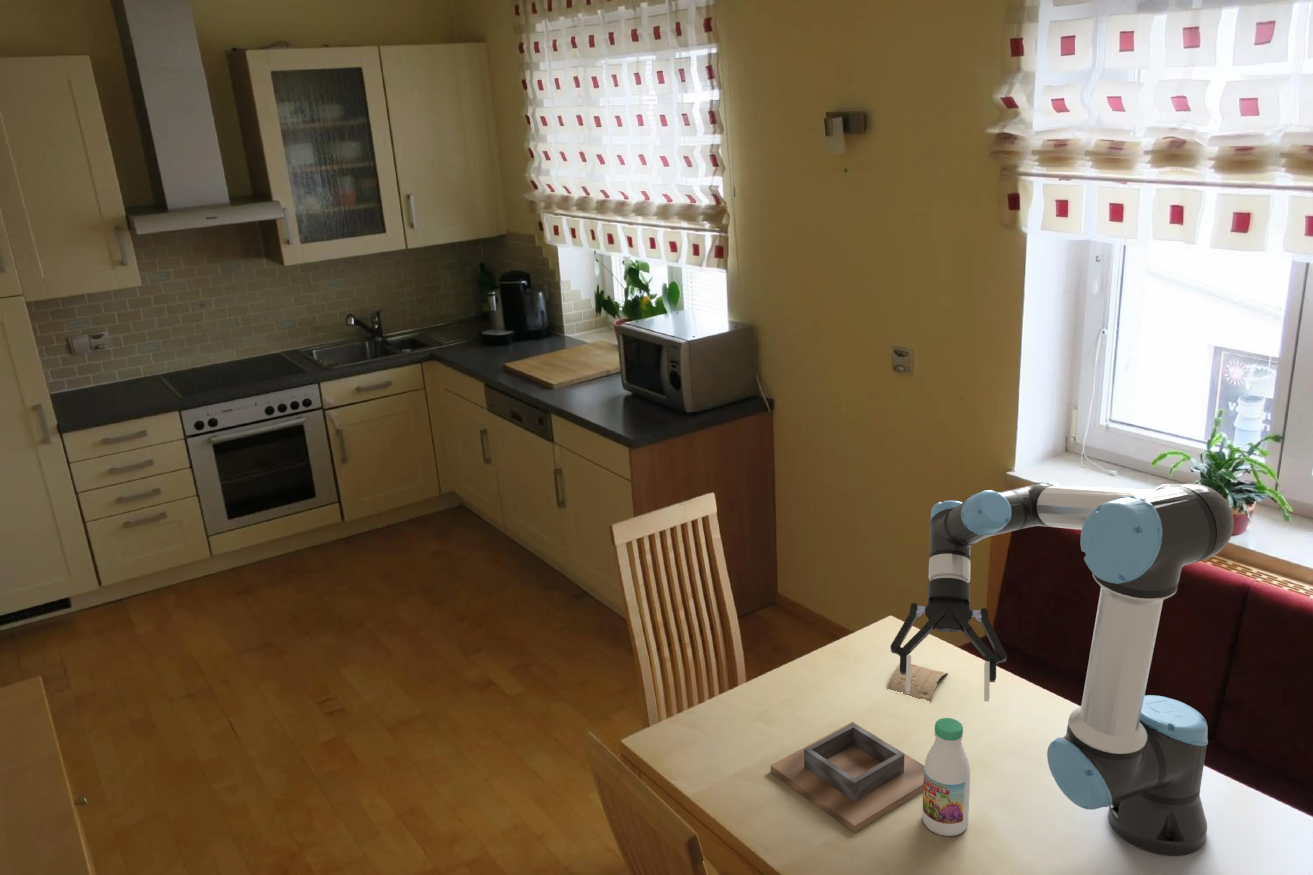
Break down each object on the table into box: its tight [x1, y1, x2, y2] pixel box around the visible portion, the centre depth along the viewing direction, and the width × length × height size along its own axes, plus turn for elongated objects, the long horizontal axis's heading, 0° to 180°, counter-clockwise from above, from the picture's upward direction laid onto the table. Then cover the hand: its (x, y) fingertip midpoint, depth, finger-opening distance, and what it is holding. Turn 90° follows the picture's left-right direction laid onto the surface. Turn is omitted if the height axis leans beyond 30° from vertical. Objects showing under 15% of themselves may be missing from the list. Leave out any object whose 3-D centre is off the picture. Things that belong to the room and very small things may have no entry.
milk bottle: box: [921, 717, 971, 837], centre depth 176 cm, size 8×8×20 cm
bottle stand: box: [770, 721, 925, 833], centre depth 191 cm, size 22×22×6 cm
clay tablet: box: [887, 663, 948, 703], centre depth 221 cm, size 14×10×3 cm
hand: (946, 696), depth 182 cm, fingers open, 13 cm apart
